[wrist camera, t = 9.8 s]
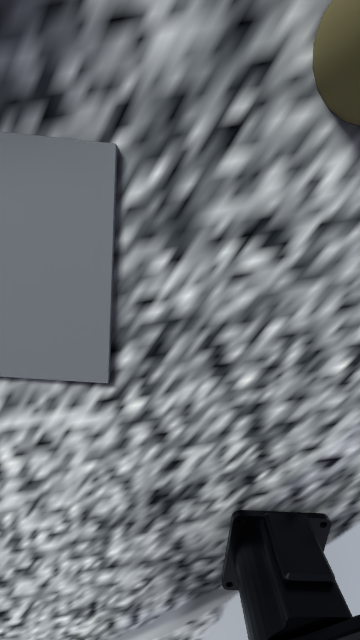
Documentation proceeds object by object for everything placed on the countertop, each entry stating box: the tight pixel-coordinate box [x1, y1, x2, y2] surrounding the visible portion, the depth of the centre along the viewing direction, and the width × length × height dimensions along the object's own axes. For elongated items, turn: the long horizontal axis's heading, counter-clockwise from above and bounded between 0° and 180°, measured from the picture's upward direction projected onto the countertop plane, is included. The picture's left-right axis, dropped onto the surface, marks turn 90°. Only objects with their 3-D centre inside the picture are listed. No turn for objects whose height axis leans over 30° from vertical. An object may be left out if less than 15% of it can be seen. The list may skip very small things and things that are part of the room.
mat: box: [0, 132, 118, 383], centre depth 17 cm, size 12×8×1 cm, turn 175°
